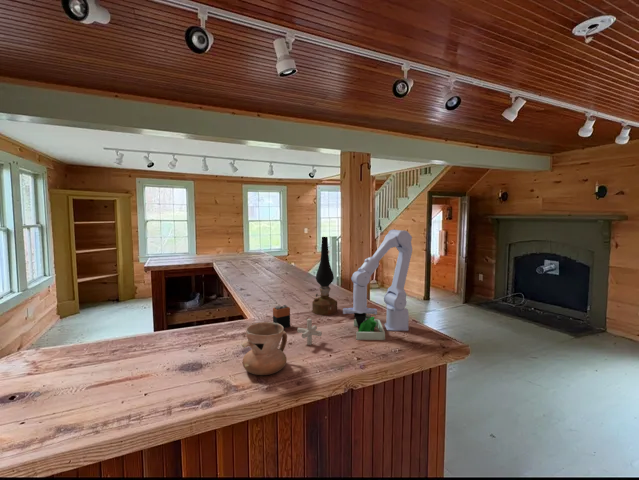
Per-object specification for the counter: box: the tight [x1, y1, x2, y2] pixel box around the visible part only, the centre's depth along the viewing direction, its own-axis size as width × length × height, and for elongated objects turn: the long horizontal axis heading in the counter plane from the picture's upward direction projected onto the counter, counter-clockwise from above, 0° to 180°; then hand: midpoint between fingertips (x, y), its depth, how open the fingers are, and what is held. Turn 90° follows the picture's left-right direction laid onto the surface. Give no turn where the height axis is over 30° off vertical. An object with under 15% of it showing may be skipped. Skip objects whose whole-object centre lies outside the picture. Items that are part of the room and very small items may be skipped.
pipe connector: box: [296, 318, 323, 346], centre depth 127 cm, size 10×10×10 cm
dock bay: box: [353, 318, 386, 341], centre depth 139 cm, size 12×16×3 cm
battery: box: [272, 304, 291, 329], centre depth 145 cm, size 4×7×10 cm, turn 125°
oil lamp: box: [311, 236, 339, 316], centre depth 168 cm, size 14×15×40 cm
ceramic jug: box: [240, 321, 288, 376], centre depth 107 cm, size 18×14×14 cm
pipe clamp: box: [357, 315, 377, 332], centre depth 139 cm, size 11×4×5 cm, turn 145°
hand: (359, 329), depth 139 cm, fingers closed
